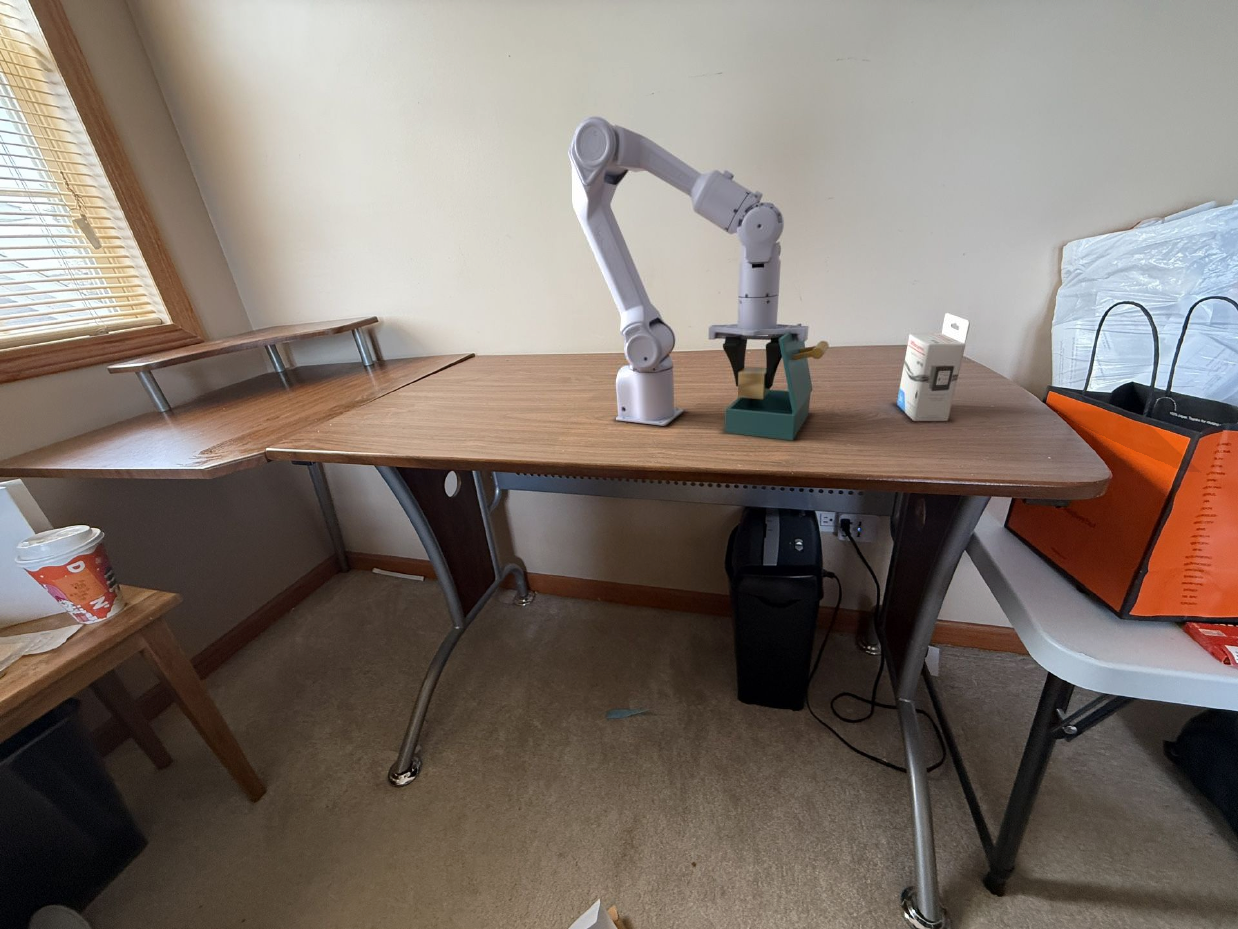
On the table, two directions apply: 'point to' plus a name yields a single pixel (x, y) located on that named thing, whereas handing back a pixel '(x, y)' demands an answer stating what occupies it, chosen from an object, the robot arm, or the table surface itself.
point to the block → (752, 383)
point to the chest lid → (799, 367)
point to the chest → (766, 416)
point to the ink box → (932, 371)
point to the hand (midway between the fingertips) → (753, 386)
